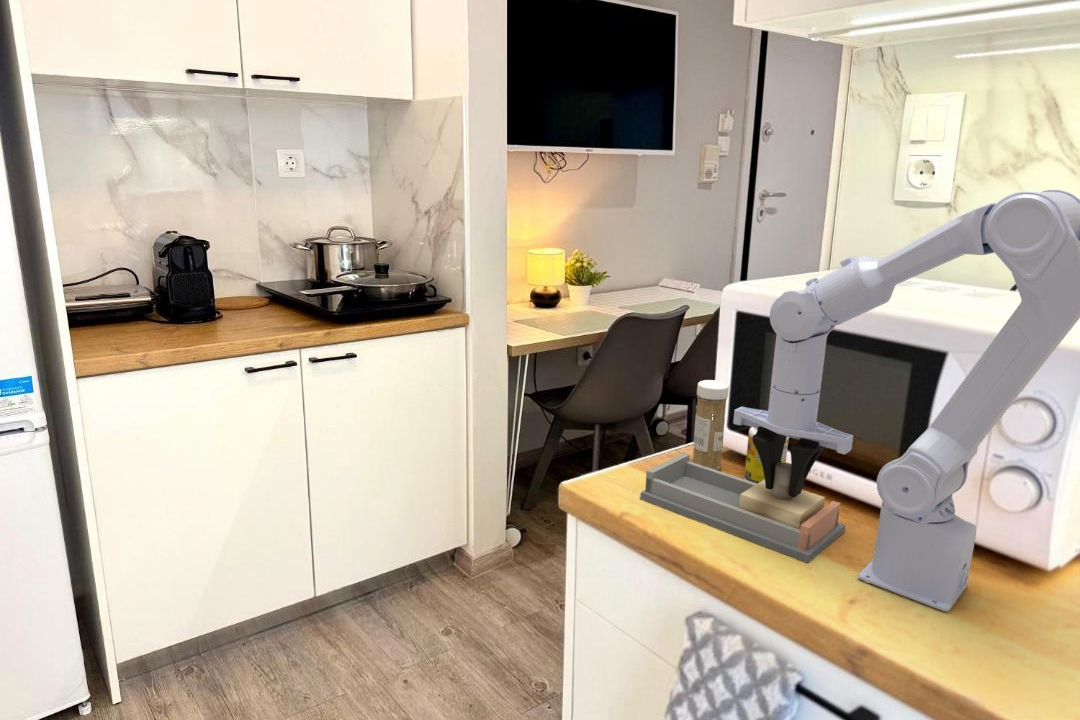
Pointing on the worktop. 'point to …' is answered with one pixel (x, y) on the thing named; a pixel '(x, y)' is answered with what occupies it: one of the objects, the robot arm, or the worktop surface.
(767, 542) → the tray
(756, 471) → the supplement bottle
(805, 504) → the beige knobbed block
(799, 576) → the worktop surface
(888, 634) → the worktop surface
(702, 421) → the brown spice jar
